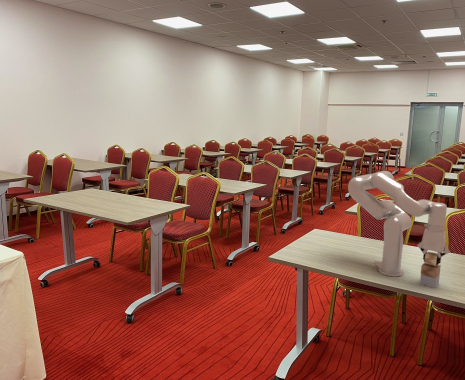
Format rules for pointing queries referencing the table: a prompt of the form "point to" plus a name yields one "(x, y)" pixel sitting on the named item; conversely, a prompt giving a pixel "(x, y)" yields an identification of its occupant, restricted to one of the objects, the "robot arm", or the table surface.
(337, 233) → the table surface
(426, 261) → the oak cube
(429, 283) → the base block
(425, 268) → the top block
